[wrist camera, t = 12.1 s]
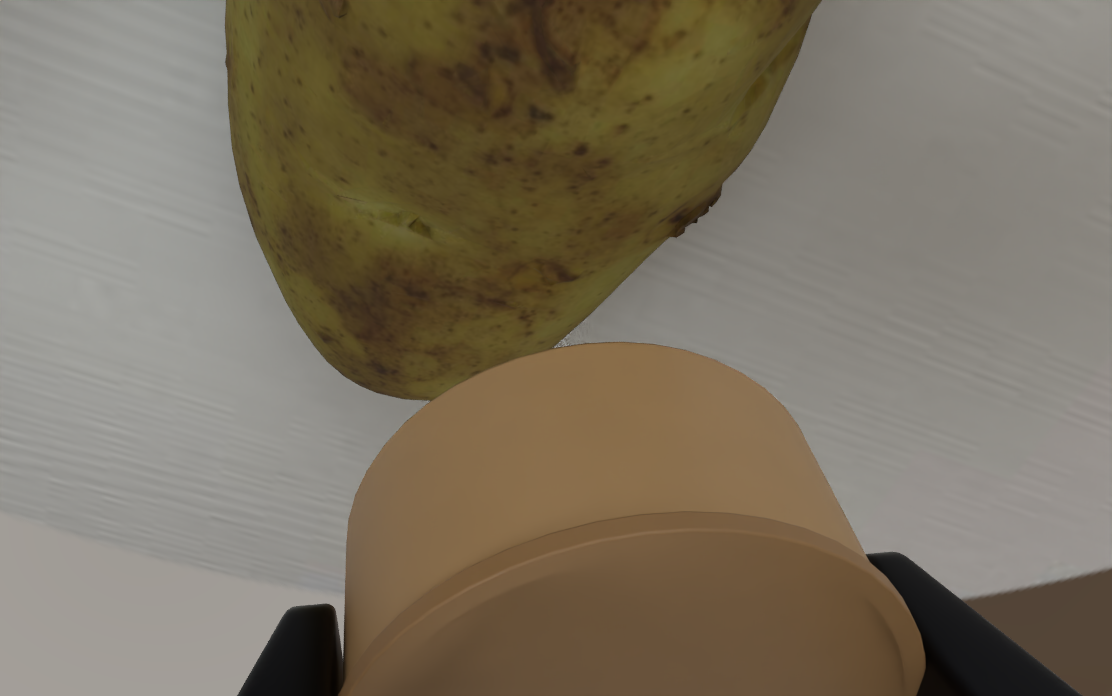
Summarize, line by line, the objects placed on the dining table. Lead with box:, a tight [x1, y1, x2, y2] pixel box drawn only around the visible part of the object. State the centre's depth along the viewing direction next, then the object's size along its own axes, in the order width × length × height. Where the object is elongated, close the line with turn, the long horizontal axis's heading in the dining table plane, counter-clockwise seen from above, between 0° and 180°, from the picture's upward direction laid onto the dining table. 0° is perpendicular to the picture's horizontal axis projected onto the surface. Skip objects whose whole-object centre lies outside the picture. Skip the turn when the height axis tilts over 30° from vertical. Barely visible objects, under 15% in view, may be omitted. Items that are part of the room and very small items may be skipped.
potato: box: [225, 0, 822, 401], centre depth 14 cm, size 8×13×8 cm, turn 143°
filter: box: [338, 342, 926, 696], centre depth 10 cm, size 5×5×2 cm
